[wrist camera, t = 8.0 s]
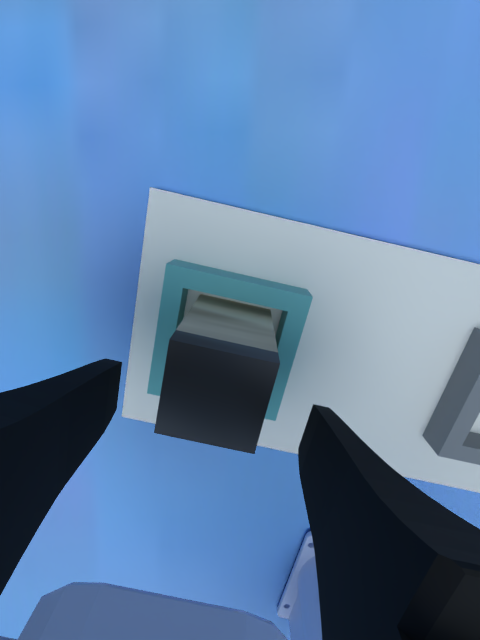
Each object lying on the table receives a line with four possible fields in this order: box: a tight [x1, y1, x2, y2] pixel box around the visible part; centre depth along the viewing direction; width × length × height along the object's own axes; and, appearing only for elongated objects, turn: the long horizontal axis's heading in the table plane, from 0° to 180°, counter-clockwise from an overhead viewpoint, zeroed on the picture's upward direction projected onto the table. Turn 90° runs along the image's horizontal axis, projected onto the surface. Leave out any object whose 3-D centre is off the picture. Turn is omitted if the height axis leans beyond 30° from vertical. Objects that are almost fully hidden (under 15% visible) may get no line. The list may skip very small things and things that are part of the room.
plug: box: [154, 294, 280, 454], centre depth 15 cm, size 4×4×7 cm
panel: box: [122, 187, 480, 493], centre depth 18 cm, size 14×29×3 cm, turn 78°
